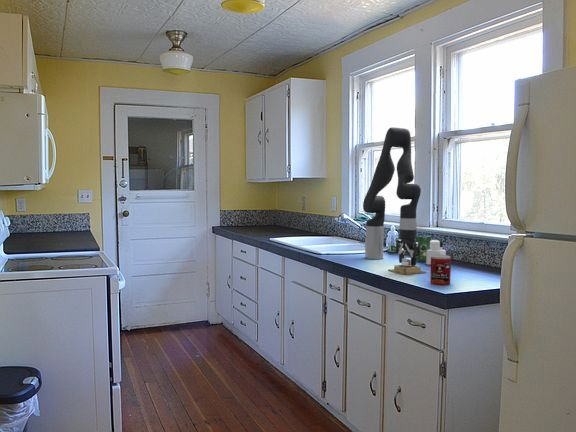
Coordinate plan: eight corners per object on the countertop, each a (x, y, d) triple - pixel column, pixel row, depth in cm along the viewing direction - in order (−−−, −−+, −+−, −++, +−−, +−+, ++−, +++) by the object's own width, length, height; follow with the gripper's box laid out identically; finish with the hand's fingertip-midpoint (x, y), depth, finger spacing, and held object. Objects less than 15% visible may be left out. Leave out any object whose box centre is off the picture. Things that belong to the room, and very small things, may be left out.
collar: (388, 270, 240) (388, 265, 240) (409, 269, 245) (409, 263, 245) (404, 274, 229) (404, 269, 229) (426, 273, 234) (426, 267, 234)
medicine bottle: (432, 262, 265) (432, 239, 265) (445, 264, 261) (446, 240, 260) (425, 264, 260) (426, 240, 259) (439, 265, 255) (440, 241, 255)
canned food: (429, 284, 207) (429, 256, 207) (431, 281, 215) (431, 254, 214) (449, 286, 205) (450, 257, 204) (451, 282, 212) (451, 255, 212)
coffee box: (426, 260, 273) (427, 235, 272) (430, 261, 270) (431, 235, 269) (414, 261, 269) (415, 236, 268) (418, 262, 266) (419, 236, 265)
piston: (399, 270, 239) (399, 258, 238) (408, 269, 241) (408, 257, 240) (405, 271, 234) (406, 259, 234) (414, 271, 236) (415, 259, 236)
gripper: (391, 227, 241) (391, 262, 242) (411, 229, 228) (410, 267, 229) (405, 226, 244) (404, 261, 245) (424, 229, 231) (424, 265, 232)
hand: (407, 264), depth 237 cm, fingers open, 8 cm apart
